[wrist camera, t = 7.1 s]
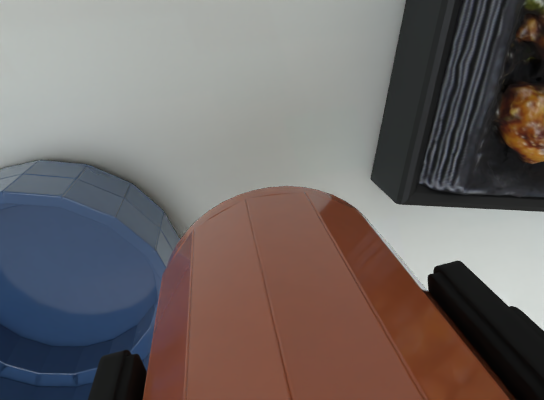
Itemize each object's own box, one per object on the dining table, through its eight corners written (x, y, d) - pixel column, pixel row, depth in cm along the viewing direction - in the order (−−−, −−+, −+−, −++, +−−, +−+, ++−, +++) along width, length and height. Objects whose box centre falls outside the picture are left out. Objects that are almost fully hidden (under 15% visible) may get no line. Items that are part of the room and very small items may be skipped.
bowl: (47, 103, 24) (4, 126, 19) (232, 265, 29) (238, 317, 24) (-114, 270, 26) (-191, 331, 21) (86, 392, 31) (63, 464, 26)
